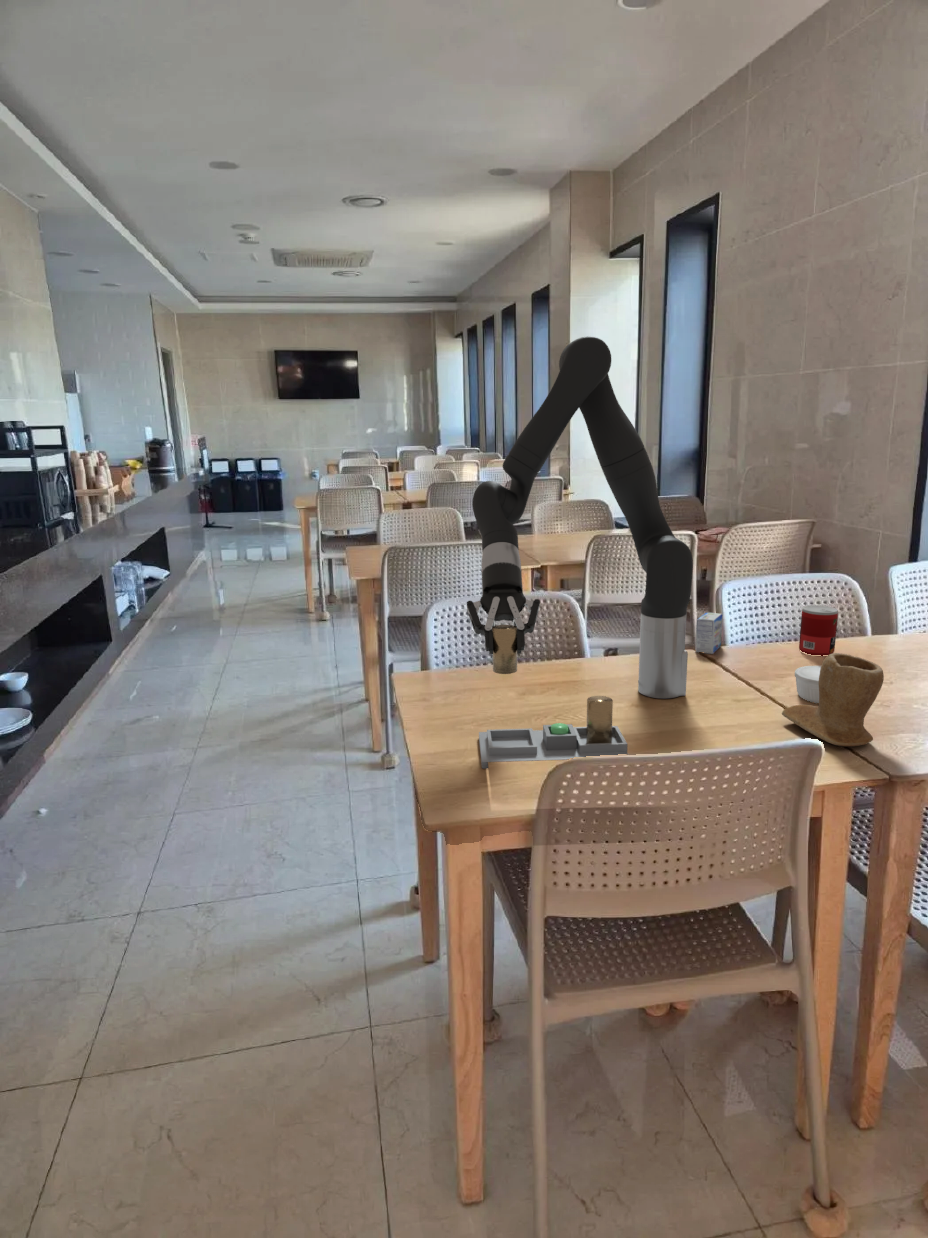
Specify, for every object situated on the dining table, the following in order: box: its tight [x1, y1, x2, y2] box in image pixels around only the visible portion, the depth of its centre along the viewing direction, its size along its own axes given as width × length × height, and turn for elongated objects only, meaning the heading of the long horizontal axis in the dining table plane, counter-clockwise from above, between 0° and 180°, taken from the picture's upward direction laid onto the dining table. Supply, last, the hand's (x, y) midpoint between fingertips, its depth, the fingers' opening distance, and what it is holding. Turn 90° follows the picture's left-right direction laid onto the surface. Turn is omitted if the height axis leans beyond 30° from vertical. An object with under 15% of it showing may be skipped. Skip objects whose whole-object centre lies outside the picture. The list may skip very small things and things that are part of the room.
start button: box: [550, 722, 568, 734], centre depth 137 cm, size 3×3×2 cm
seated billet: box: [586, 695, 614, 744], centre depth 137 cm, size 4×4×8 cm
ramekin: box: [794, 665, 821, 704], centre depth 160 cm, size 11×11×5 cm
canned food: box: [798, 604, 839, 657], centre depth 189 cm, size 8×8×11 cm
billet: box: [492, 624, 518, 675], centre depth 140 cm, size 4×4×8 cm
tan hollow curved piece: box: [781, 652, 885, 747], centre depth 140 cm, size 15×12×15 cm
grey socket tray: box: [478, 723, 629, 769], centre depth 137 cm, size 25×13×4 cm, turn 91°
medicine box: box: [694, 612, 723, 655], centre depth 194 cm, size 8×4×9 cm, turn 148°
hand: (505, 651), depth 138 cm, fingers closed on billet, 4 cm apart
